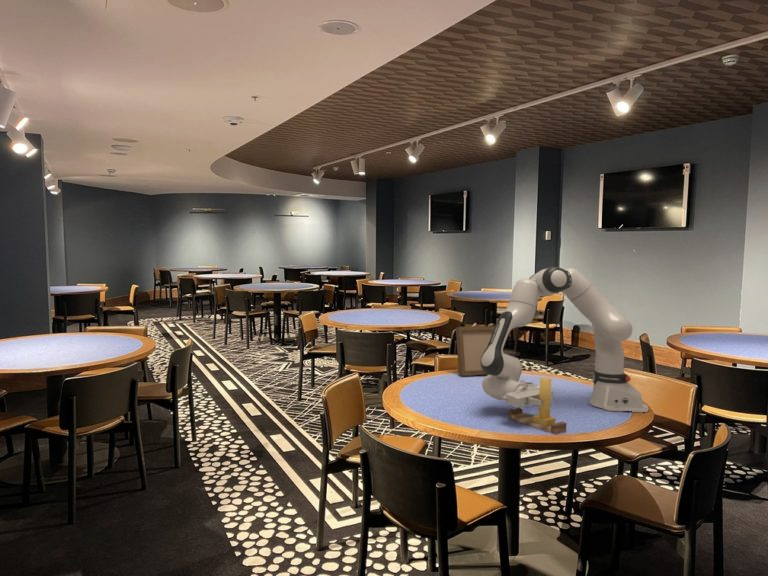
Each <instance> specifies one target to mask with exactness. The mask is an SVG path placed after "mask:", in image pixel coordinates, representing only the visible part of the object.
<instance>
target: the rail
mask: <svg viewBox="0 0 768 576" xmlns="http://www.w3.org/2000/svg"><path fill="white" fill-rule="evenodd" d="M533 416H534V415H530V414H528V413H526V412H525V413H524V412H523V408H521V407H516V408H515V407H514V408H512V409H507V419H511V420H514V421H517V422H519V423H521V424H525V425H528V426H530V427H533V428H536V429H540V430H542V431H545V432H548V433H550V432H551V433H550V434H553V433H554V435H558V434H562V433H564V432H565V431H566V432H567V422H564V421H559V422H555V423H554V424H551V425H548V426H545V425H542V424H539V423H536V422H533ZM561 432H562V433H561ZM566 432H565V433H566ZM557 433H558V434H557Z"/></svg>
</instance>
